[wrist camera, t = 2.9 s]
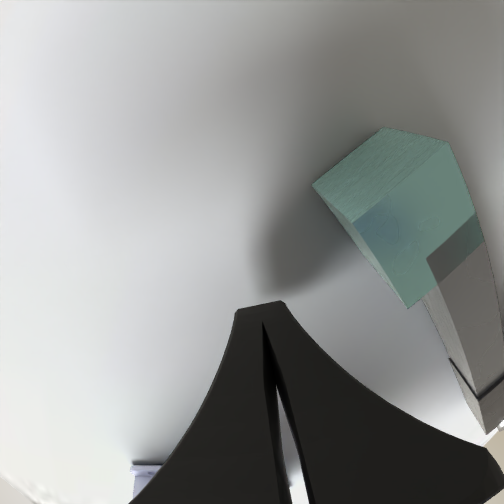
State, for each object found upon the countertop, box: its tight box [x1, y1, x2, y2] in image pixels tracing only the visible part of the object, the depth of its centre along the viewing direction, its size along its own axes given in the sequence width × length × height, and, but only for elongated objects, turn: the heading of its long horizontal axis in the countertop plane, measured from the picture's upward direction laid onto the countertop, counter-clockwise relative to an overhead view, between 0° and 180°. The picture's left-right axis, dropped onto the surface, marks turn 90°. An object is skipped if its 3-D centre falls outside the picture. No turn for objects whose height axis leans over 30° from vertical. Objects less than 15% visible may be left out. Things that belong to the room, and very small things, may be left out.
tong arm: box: [312, 127, 504, 435], centre depth 11 cm, size 22×4×3 cm, turn 40°
